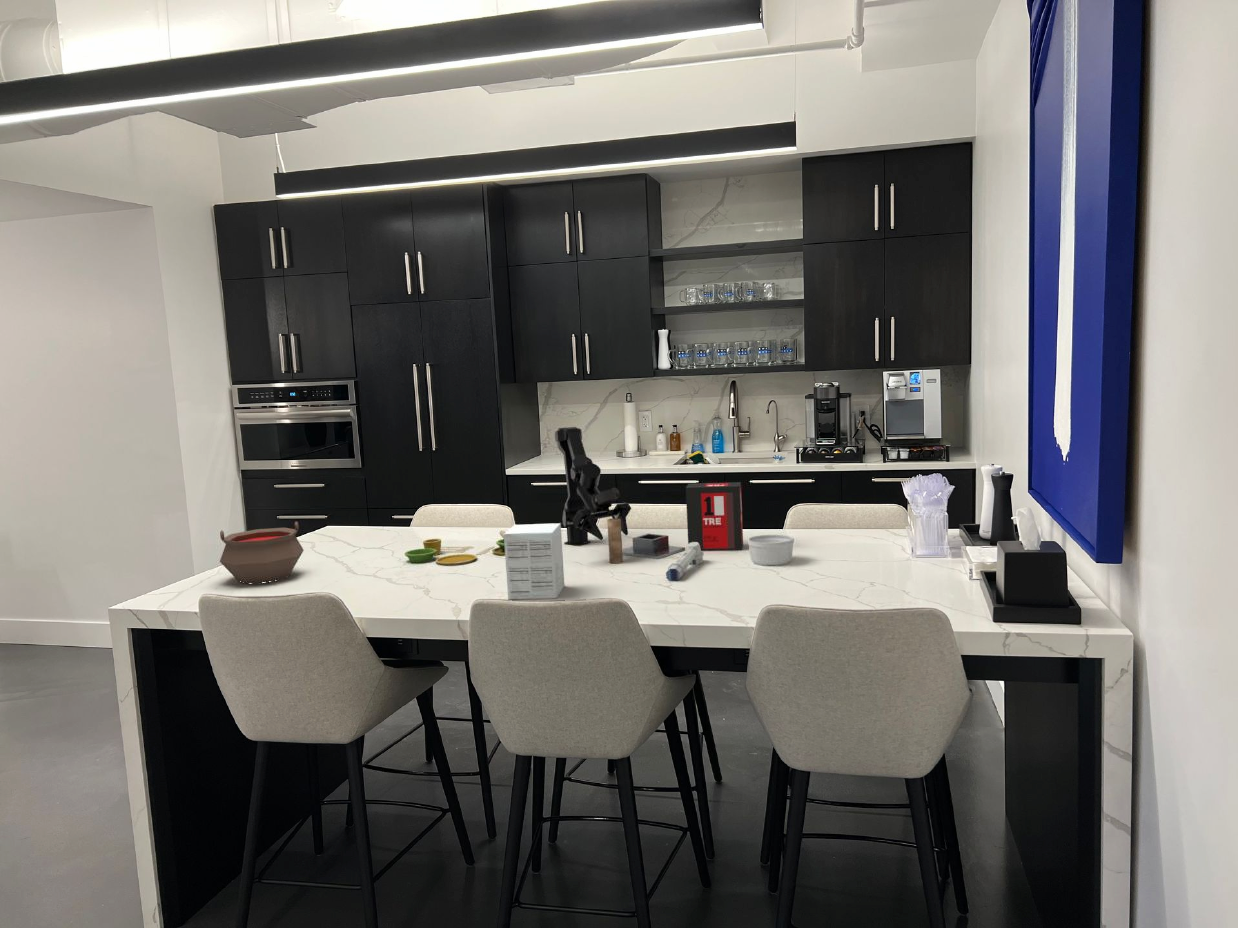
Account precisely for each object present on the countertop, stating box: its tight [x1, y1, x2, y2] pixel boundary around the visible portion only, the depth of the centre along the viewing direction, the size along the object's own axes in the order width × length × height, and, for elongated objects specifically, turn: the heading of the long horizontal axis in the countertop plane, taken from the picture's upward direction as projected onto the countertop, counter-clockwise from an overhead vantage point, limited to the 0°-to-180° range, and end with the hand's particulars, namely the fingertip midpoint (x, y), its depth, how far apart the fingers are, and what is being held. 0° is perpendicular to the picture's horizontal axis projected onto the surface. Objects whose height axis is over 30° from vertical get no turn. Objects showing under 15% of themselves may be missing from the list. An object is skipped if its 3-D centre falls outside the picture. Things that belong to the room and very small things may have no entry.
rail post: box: [606, 517, 624, 565], centre depth 276 cm, size 4×4×13 cm
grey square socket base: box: [622, 533, 686, 560], centre depth 288 cm, size 16×14×5 cm
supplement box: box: [503, 522, 566, 600], centre depth 244 cm, size 13×13×18 cm
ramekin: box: [747, 533, 795, 566], centre depth 266 cm, size 13×13×7 cm
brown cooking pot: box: [219, 521, 305, 584], centre depth 279 cm, size 24×24×16 cm
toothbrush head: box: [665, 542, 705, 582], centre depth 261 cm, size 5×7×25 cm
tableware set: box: [404, 530, 506, 566], centre depth 296 cm, size 41×28×6 cm
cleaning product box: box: [685, 481, 744, 552], centre depth 288 cm, size 16×9×20 cm, turn 80°
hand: (614, 536), depth 276 cm, fingers open, 9 cm apart
